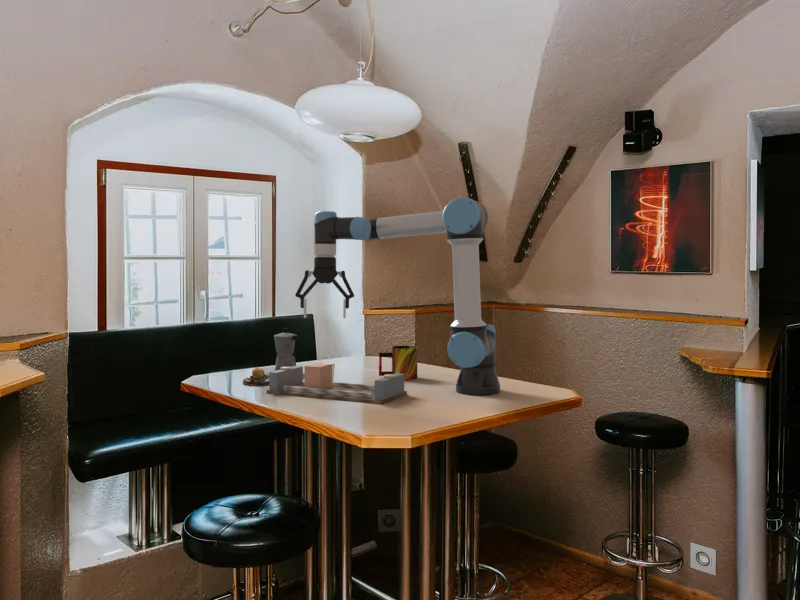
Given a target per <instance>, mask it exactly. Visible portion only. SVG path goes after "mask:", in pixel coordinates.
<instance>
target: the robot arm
mask: <svg viewBox="0 0 800 600" xmlns="http://www.w3.org/2000/svg"><path fill="white" fill-rule="evenodd" d="M488 219H489V215H488V210H487V209H486V207H485V206H484V205H483V204H482V203H481V202H479V201H477V200H475V199H472V198H470V197H464V196H462V197H456V198H453V199H451V200H450V201H449V202H448V203H447V204H446V205H445V206H444V209H443V210H437V211H429V212H421V213H411V214H403V215H394V216H386V217H378V218H377V217H375V218H367V217H366V216H365V217H364V216H363V217H362V216H354V217H353V216H347V217H346V216H344V217H343V216H342V217H340V216H337V212H335V211H325V210H322V211H321V210H319V211H316V212H315V214H314V223H313V225H314V245H313V247H314V252H313V253H314V256H315V257H314V260H313V263H314V264H313V265H314V266H313V270H308V269H306V270H305V271H304V277H303V279H302V281H301V282H300V284H299V287H298V289H297V291H296V292H295V295H294V296H295V297H296V298H299V299H300V308H301V309H303V318H304V319H307V298H306V296H307V295H308V294H309V293H310V291H312V289H313V288H314V287H315V286H316V285H317V284H333V285H334V286H335V287H336V289H337V290H338V291H339V292H340V294H341V295H342V296H343V297H344V298H343V307H342V308H343V311H342V312H343V314H342V315H343V319H346V317H347V316H346V315H347V314H346V311H347V310H346V309H349V308H350V299H352V298H354V297H355V294H354V291H353V290H352V288H351V286H350V284H349V282H348V279H347V277H346V271H345V270H342V271H341V270H340V271H339V270H337V258H336V256H337V240H353V241H354V240H355V241H356V240H357V241H364V242H372V241H375V240H385V239H394V238H404V237H415V236H422V235H423V236H425V235H433V234H446V241H447V243H449V244H450V245H451V254H452V256H451V257H452V260H451V261H452V281H453V283H452V284H453V309H454V314H453V315H454V320H453V322H452V323H451V324H450V326H449V328H450V329H449V331H450V336H449V337H450V339H449V341H448V342H447V345H446V346H447V349H446V352H447V354H448V357H449V359H450V360H451V361H452V363H454V364H455V365H456V366H458V367H460V371H459V374H458V377H457V379H456V383H455V391H456V392H458V393H460V394H465V395H474V396H475V395H476V396H480V395H481V396H483V395H484V396H487V395H494V394H495V393H496V394H498V392H499V393H500V392H501V384H500V381H499V380H500V379H499V377H498V373H497V371H496V336H497V333H496V327H495V326H494V325H493V324H487V323H486V322H485V321H483V319H482V305H481V304H482V303H481V298H482V297H481V276H480V275H481V273H480V249H479V248H480V246H479V245H480V244H481V243H482V241H484V229H485V228H486V226H487V224H488V221H489V220H488ZM338 275H339V277H340V278H341V279H342V281H343V282H344V285H345V288H346V289H347V291H348V293H349V294H347V292H346V291H345V290H344V289H343V287H342V286H341V285H340V284H339V283H338V281H337V280H336V277H337V276H338ZM311 276H313V277H314V278H315V279H314V280H313V282H311V284H309V286H308V287H307V288H306V290H305V291H304V292H303V293H302V294H301V292H302V291H303V289H304V286H305V285H306V283H307V281H308V279H309V278H310V277H311Z"/></svg>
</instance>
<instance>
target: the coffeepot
mask: <svg viewBox="0 0 800 600" xmlns="http://www.w3.org/2000/svg"><path fill="white" fill-rule="evenodd" d="M273 339H274V344H275V351H276V355H277V356H276V357H275V358H276V359H275V365H274V371H277V370H281V367H293V366H297V363H296V357H295V356H296V355H297V352H298V347H299V344H300V343H299V342H300V338H299V337H298V335H297V334H294V333H290V332H288V327H283V332H281V333H278V334H274V335H273Z"/></svg>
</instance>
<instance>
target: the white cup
mask: <svg viewBox="0 0 800 600" xmlns="http://www.w3.org/2000/svg"><path fill="white" fill-rule="evenodd" d="M320 363H326V364H332V382H334V381H335V380H334V377H335V367H336V366H335V364H336V363H335V362H330V361H329V362H326V361H324V362H320Z"/></svg>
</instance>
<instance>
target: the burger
mask: <svg viewBox="0 0 800 600" xmlns="http://www.w3.org/2000/svg"><path fill="white" fill-rule="evenodd" d="M242 384H244V385H246V386H247V385H249V387H250V386H252V387H264V386H270V385H269V372H268V373H267V374H266V373H265V370H264V369H263V368H262V367H255V368H254V369H253V370H252V372H251V375H250V376H249V377H246V378H244V379H243V380H242Z"/></svg>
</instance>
